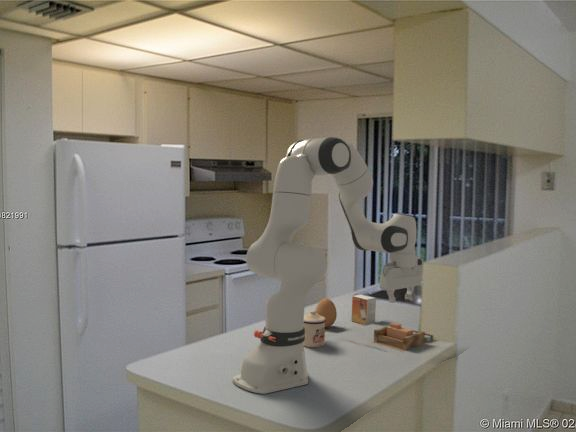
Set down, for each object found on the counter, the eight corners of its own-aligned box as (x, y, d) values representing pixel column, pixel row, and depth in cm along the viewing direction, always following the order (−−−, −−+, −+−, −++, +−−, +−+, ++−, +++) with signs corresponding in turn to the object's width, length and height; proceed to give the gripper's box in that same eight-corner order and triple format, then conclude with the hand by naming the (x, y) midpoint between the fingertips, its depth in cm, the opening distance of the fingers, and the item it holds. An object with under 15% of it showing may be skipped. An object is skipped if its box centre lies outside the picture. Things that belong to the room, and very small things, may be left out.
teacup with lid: (316, 349, 184) (316, 315, 183) (293, 344, 189) (294, 311, 189) (334, 341, 194) (335, 308, 193) (312, 336, 199) (313, 305, 198)
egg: (337, 330, 208) (337, 301, 207) (315, 329, 208) (315, 300, 207) (335, 324, 216) (336, 296, 215) (314, 324, 216) (315, 295, 215)
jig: (403, 354, 181) (403, 339, 180) (371, 345, 190) (371, 330, 190) (435, 342, 194) (436, 328, 194) (404, 334, 204) (405, 321, 203)
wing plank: (427, 341, 191) (427, 337, 191) (398, 334, 200) (398, 330, 200) (430, 340, 193) (430, 336, 193) (402, 333, 202) (402, 329, 202)
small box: (351, 321, 221) (351, 295, 221) (360, 319, 225) (361, 294, 224) (366, 325, 215) (367, 299, 215) (375, 323, 219) (376, 297, 218)
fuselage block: (405, 346, 185) (406, 328, 185) (386, 341, 191) (387, 323, 191) (412, 344, 188) (413, 326, 188) (393, 338, 194) (393, 321, 194)
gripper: (391, 264, 178) (389, 306, 179) (426, 260, 193) (424, 298, 193) (376, 261, 183) (374, 302, 184) (410, 257, 197) (409, 295, 198)
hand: (400, 300), depth 189 cm, fingers open, 8 cm apart
